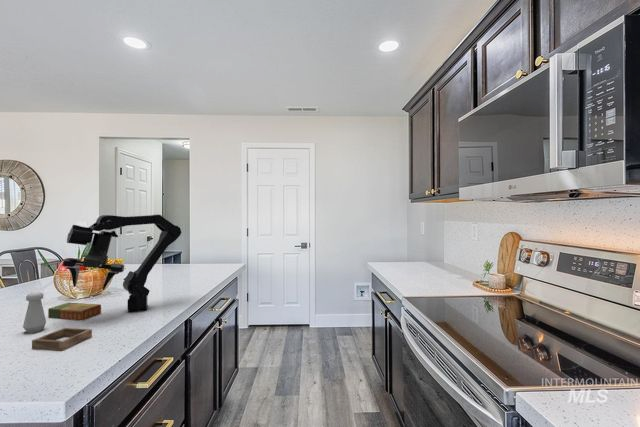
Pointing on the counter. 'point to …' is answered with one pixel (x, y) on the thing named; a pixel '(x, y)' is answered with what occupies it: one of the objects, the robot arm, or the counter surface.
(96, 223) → the robot arm
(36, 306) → the salt shaker
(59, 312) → the carton
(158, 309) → the counter surface
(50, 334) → the walnut frame
